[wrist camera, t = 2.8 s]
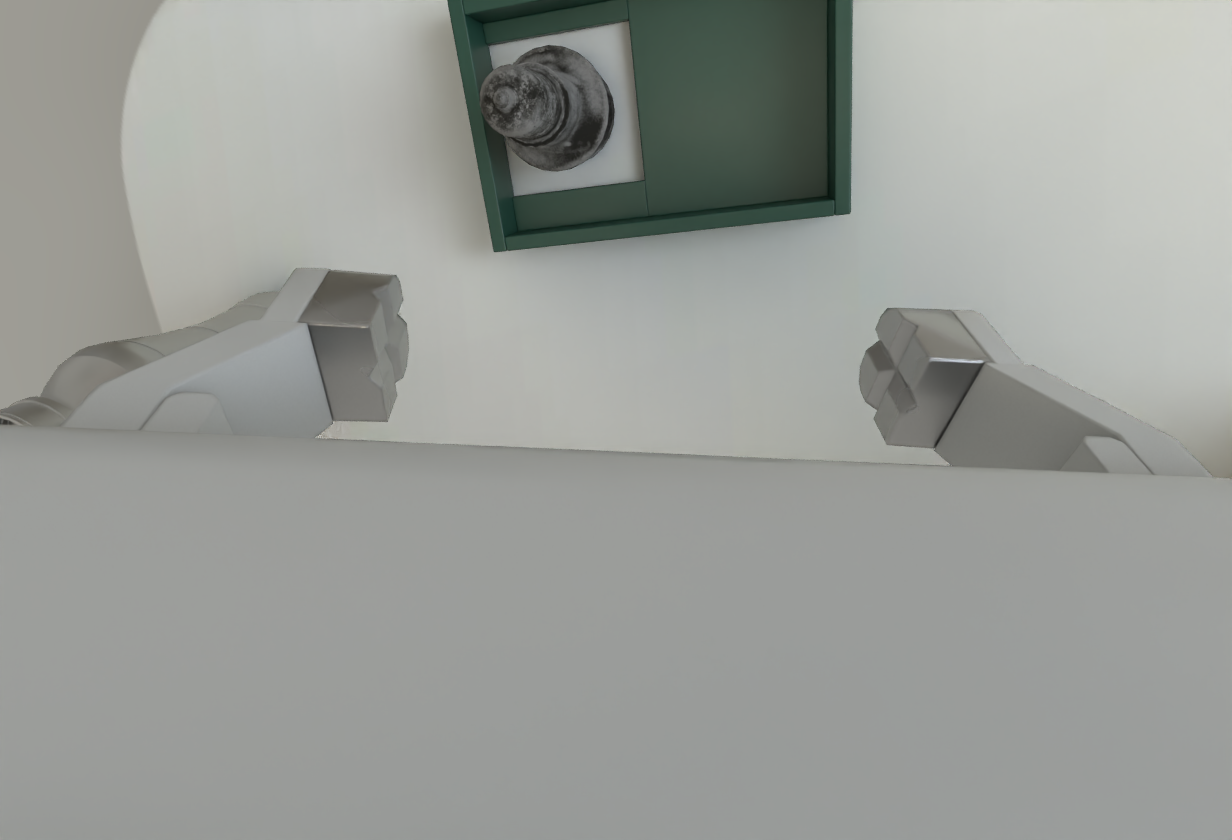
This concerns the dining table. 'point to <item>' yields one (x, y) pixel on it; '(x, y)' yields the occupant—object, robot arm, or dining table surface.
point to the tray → (685, 116)
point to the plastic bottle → (119, 364)
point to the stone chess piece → (549, 107)
